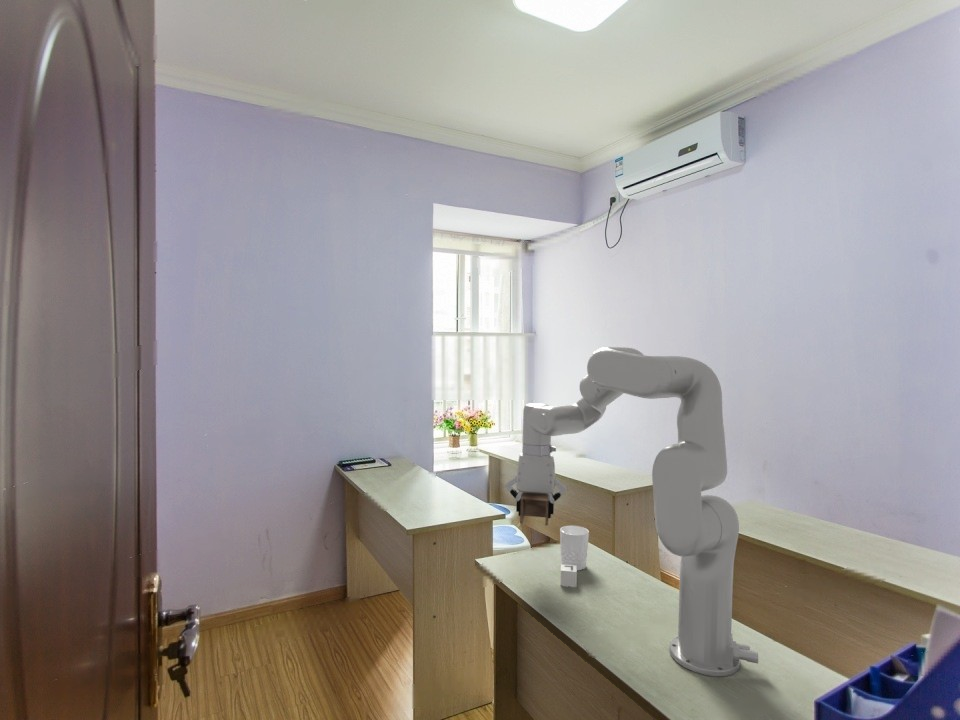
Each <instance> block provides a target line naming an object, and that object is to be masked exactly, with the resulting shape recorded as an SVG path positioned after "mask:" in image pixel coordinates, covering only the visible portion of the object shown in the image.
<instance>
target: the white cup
mask: <svg viewBox="0 0 960 720" xmlns="http://www.w3.org/2000/svg"><path fill="white" fill-rule="evenodd" d="M589 536H590V531H589V529H587V528H586V527H583V526H580V525H564V526H562V527H560V528H559V537H560V538H559V539H560V544H559V545H560V558H561V559H560V562H561V564H563V565H575V566H577V571H582V569H583V570H585V569H586V567H587V559H588V558H587V557H588V550H589ZM561 564H560V565H561Z"/></svg>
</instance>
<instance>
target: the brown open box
mask: <svg viewBox="0 0 960 720" xmlns="http://www.w3.org/2000/svg"><path fill="white" fill-rule="evenodd" d="M548 504H549V497H548V496H547V495H546V494H542V493H528V492H524V493H523V495H521V507H520V516H519V522H520V523H519V524H523V523H524V519H525V517H533V518H534V517H535V518H545V519H544V520H545V526H548V525H549V519H550V518H548Z"/></svg>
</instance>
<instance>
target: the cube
mask: <svg viewBox="0 0 960 720" xmlns="http://www.w3.org/2000/svg"><path fill="white" fill-rule="evenodd" d="M577 571H578V570H577V566H575V565H563V564H560V585H562V586H561V587H568V586H571V587H570V588H577V583H578V582H577V579H578V578H577V577H578V576H577V575H578V572H577Z"/></svg>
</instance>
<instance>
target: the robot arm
mask: <svg viewBox="0 0 960 720" xmlns="http://www.w3.org/2000/svg"><path fill="white" fill-rule="evenodd" d="M586 371H587V374H586V375H585V376H584V377H583V378H582V379H581V380H580V382H579V392H580V395H581V399H579V400H578V401H577V402H575V403H572V404H564V405H563V404H562V405H552V406H551V405H548V404H547V403H546V404H545V403H527V404H525V405H524V407H523V411H522V418H523V419H522V451H521V452H520V453H519V455H518V463H517V470H516V471H517V472H516V476H514V477H513V478H512V479H510V480H509V481H507V482H506V483H505V485H504V486H505V488H506V489H507V490H508V493H510V495H511V496H513V498H514V500H515V502H516V512H518V517H520V507H521V495H523V493H524V492H528V493H542V494H546V495H547V496H548V497H549V504H548V518H549V519H551V518H552V516H551V515H554V507H555V505H554V504H555V502H556V501H558V500H559V498H561V497H562V495H564V493H565V492H566V491H567V487H566V486H565V485H564V484H563V483H561V482H560V480H558V479H557V478H556V469H555V468H556V466H555V459H554V455H553V454H552V453H553V452H554V453H555V452H557V446H554V445H552V437H555V436H558V437H559V436H562V435H573V434H580V433H582V432H583V431H585V430H587V429H589V428H590V427H592V426H593V425H594V424H596V423H597V422H598V421H599V420H600V419H601V418H602V417H604V415H605V412H606V410H607V406H609V405H610V404H611V403H612V402H614V401H616V399H618V398H620V397H621V396H622V395H623V394H626V395H630V396H633V397H637V398H642V399H649V400H651V399H654V400H655V399H656V400H657V399H670V398H678V399H680V401H681V402H680V405H679V407H678V411H677V414H676V415H677V416H676V426H677V427H676V428H677V443H674V444H670V445H668V446H666V447H664V448H662V449H661V450H660V451H659V452H658V454H657V455H656V457H655V458H654V461H653V464H652V471H651V477H652V478H651V479H652V480H651V481H652V491H653V493H652V494H653V496H652V497H653V507H654V508H653V509H654V521H655V528H656V532H657V535H658V539H659V540H660V543H661V544H662V545H663V546H664V548H665V549H666V550H667V551H668V552H670V553H671V554H673V555H675V556H677V557H680V563H679V565H680V566H679V567H680V568H679V589H678V591H679V593H678V631H677V636H676V637H675V638H673V639H672V640H671V641H670V642H669V654H670V656H671V657H672V658H673V659H674V661H676V662H677V663H678V664H679V665H681V666H682V667H684V668H686V669H687V670H690V671H692V672H694V673H698V674H701V675H705V676H710V677H726V676H731V675H734V674H735V673H736V672H738V670H739V669H740V663H741V662H740V660H741V661H747V663H753V664H759V652H757V651H753V650H751V646H750V645H748V644H742V643H741V644H740V643H737V641H734V638H733V637H734V636H733V633H732V624H733V622H732V616H733V614H732V613H733V590H734V588H733V584H734V566H735V565H734V563H735V555H736V549H737V546H738V540H739V534H740V533H739V532H740V521H739V517H738V515H737V512H736V509H734V507H733V506H732V504H731V503H730V502H728V501H727V500H725V498H722V497H720V496H717V495H713V494H712V495H709V494H706V495H702V492H705V491H708V490H713V489H715V488H717V487H719V486H721V485H722V484H723V483H725V481H726V478H727V475H728V458H727V450H726V449H727V448H726V435H725V427H724V417H723V395H722V394H723V393H722V388H721V387H722V386H721V382H720V380H719V378H718V376H717V374H716V373H715V371H714V370H712V368H711V367H710V366H709V365H707V364H705V362H702V361H700V360H698V359H695V358H691V357H687V356H676V355H667V356H665V355H664V356H662V355H660V356H659V355H655V356H654V355H652V356H651V355H644V354H643V352H641V351H640V350H637V349H636V348H633V347H626V346H625V347H624V346H623V347H622V346H621V347H618V346H607V347H606V346H605V347H601V348H599V349H597V350H595V351H594V352H593V353H592V354H591V356H590V357H589V358H588V361H587V365H586ZM514 484H516V489H517V490H516V489H515V488H514V486H513V485H514ZM555 487H557V488H558V491H556V493H554V491H555Z"/></svg>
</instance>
